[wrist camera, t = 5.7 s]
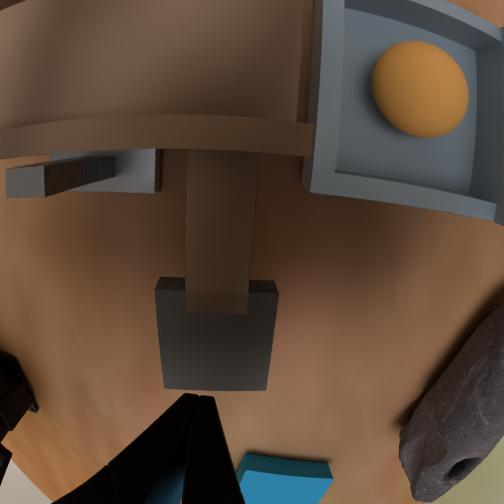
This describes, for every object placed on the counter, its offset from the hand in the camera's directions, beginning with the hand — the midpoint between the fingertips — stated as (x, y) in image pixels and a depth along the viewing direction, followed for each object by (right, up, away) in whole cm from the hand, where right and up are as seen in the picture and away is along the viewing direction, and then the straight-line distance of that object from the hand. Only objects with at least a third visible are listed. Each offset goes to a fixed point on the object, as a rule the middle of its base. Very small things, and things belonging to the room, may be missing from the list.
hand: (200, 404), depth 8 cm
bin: (+9, +11, +4) cm, 15 cm away
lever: (-6, +7, +1) cm, 9 cm away
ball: (+8, +11, +2) cm, 13 cm away
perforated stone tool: (+15, -4, +9) cm, 18 cm away
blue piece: (+2, -20, +16) cm, 25 cm away
